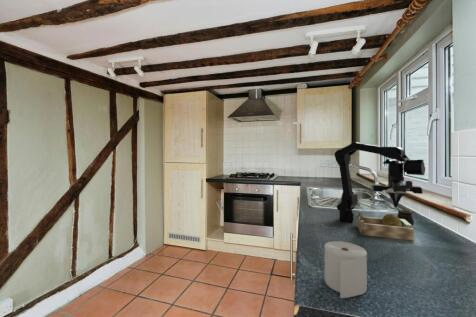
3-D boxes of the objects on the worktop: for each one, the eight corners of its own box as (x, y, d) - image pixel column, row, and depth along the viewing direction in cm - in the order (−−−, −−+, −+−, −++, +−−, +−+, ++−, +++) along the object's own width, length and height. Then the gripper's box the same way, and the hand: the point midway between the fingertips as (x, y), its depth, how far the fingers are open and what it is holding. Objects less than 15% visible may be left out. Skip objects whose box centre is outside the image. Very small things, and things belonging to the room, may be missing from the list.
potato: (379, 234, 99) (379, 217, 99) (383, 227, 109) (383, 211, 109) (402, 239, 94) (402, 220, 94) (404, 231, 104) (404, 214, 104)
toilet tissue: (352, 273, 67) (353, 240, 67) (379, 299, 55) (379, 259, 55) (318, 274, 67) (318, 241, 66) (337, 300, 55) (337, 260, 54)
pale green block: (406, 238, 95) (406, 224, 95) (399, 231, 104) (399, 218, 104) (413, 239, 94) (413, 225, 94) (405, 231, 104) (405, 219, 103)
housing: (361, 234, 100) (361, 217, 100) (357, 225, 112) (357, 210, 112) (413, 240, 93) (413, 221, 93) (403, 230, 105) (403, 214, 105)
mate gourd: (418, 229, 107) (418, 208, 107) (402, 229, 108) (402, 209, 107) (407, 224, 115) (406, 205, 114) (392, 224, 115) (392, 205, 115)
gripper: (376, 174, 98) (375, 209, 98) (428, 175, 91) (427, 213, 91) (371, 172, 109) (371, 204, 109) (417, 173, 102) (417, 207, 102)
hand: (395, 207), depth 102 cm, fingers closed
